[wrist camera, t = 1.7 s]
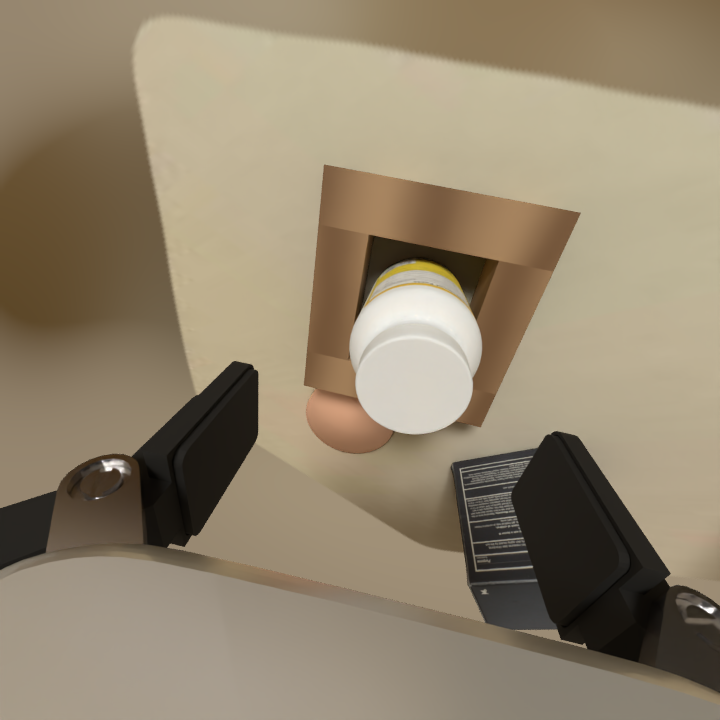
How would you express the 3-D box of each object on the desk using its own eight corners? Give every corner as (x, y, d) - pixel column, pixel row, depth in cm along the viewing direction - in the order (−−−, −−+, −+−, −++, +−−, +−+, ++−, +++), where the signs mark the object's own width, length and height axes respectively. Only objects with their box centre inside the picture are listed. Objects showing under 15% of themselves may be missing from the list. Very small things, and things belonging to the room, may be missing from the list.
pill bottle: (408, 357, 25) (401, 472, 15) (352, 297, 23) (300, 378, 13) (481, 306, 22) (533, 404, 12) (423, 233, 20) (426, 275, 10)
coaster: (404, 389, 26) (404, 393, 26) (385, 457, 30) (384, 461, 30) (312, 368, 27) (310, 371, 26) (305, 437, 31) (303, 441, 30)
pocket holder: (558, 209, 19) (580, 212, 16) (474, 403, 26) (480, 427, 23) (336, 167, 19) (324, 164, 17) (315, 366, 27) (304, 385, 24)
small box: (467, 507, 32) (486, 635, 22) (449, 460, 29) (462, 583, 20) (587, 493, 28) (667, 637, 19) (578, 438, 26) (665, 574, 17)
